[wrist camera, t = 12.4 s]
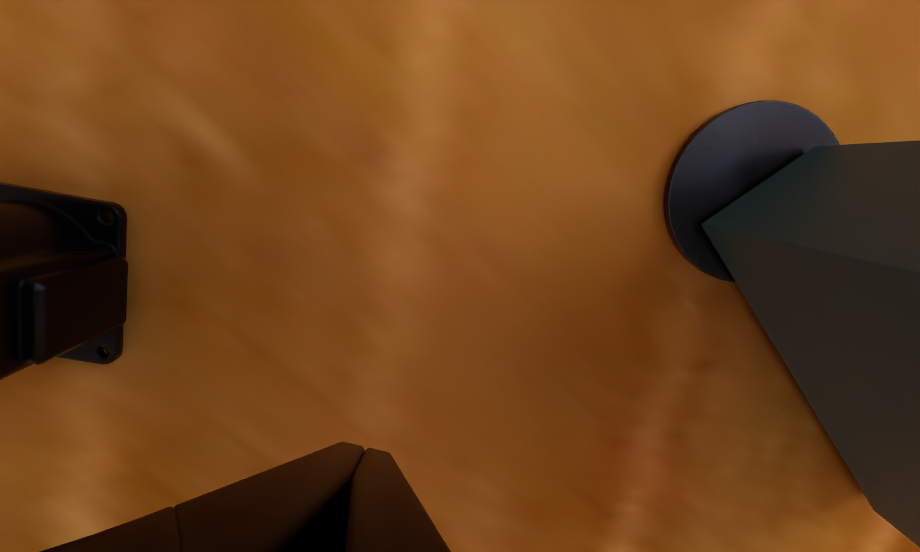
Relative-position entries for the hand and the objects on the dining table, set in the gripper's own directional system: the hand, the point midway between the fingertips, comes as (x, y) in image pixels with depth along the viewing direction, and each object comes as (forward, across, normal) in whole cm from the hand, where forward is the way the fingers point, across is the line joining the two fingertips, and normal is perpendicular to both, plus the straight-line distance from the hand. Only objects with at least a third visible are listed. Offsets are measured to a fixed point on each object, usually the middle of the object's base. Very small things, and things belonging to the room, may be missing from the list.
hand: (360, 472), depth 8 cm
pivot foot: (+12, +12, +7) cm, 18 cm away
